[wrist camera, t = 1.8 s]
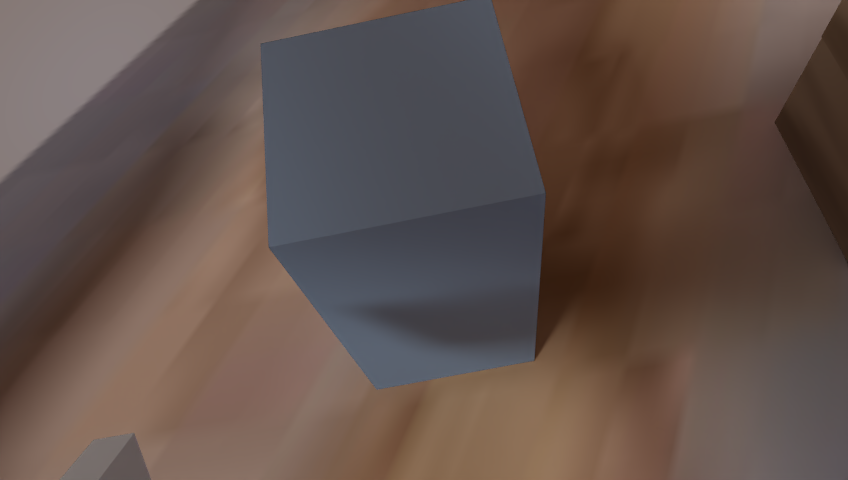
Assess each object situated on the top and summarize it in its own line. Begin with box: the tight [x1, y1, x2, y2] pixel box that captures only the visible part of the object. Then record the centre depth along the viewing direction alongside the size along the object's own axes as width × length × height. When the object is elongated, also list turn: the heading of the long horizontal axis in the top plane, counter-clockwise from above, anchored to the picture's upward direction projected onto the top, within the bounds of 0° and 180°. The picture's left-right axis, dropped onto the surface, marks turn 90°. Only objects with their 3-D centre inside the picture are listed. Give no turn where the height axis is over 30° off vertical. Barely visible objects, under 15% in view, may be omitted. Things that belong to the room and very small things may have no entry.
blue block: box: [261, 0, 546, 389], centre depth 21 cm, size 6×6×12 cm
